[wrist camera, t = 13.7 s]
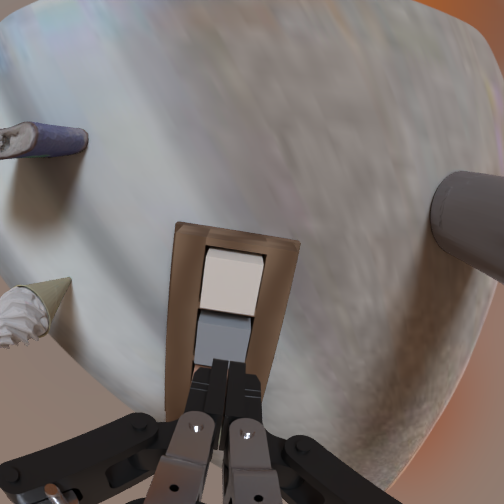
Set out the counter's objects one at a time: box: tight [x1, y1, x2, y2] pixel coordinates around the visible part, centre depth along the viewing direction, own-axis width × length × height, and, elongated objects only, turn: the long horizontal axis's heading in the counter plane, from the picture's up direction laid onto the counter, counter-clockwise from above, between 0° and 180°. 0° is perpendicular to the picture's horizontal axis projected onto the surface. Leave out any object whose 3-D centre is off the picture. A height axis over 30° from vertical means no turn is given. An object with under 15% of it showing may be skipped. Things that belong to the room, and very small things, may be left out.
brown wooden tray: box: [165, 222, 301, 422], centre depth 29 cm, size 11×23×4 cm, turn 170°
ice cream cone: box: [0, 277, 71, 349], centre depth 21 cm, size 5×5×15 cm
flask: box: [0, 122, 88, 160], centre depth 20 cm, size 9×3×11 cm, turn 82°
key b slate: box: [194, 309, 251, 369], centre depth 26 cm, size 4×4×3 cm
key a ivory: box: [200, 246, 264, 316], centre depth 24 cm, size 4×4×3 cm
